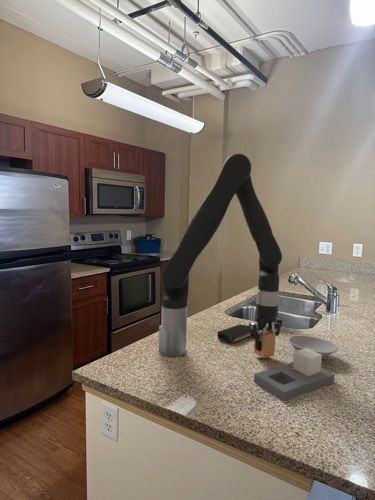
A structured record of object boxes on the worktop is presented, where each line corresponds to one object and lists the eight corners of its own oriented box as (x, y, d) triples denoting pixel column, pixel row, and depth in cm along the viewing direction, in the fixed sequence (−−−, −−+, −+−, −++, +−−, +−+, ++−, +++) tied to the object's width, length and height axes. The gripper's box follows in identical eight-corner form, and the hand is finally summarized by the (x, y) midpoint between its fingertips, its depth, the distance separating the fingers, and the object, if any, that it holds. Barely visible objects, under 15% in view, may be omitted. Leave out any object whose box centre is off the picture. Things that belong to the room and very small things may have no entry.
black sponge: (231, 345, 132) (232, 336, 132) (215, 339, 138) (215, 330, 138) (255, 335, 144) (256, 327, 143) (239, 330, 150) (240, 322, 149)
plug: (263, 358, 118) (265, 335, 117) (253, 352, 122) (255, 331, 121) (274, 355, 120) (275, 333, 119) (264, 350, 124) (265, 329, 124)
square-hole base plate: (283, 400, 94) (285, 373, 93) (253, 381, 104) (255, 356, 103) (334, 381, 105) (336, 357, 104) (302, 366, 115) (304, 343, 115)
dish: (279, 354, 124) (279, 341, 124) (296, 344, 135) (297, 331, 134) (327, 371, 112) (328, 356, 112) (343, 358, 123) (344, 344, 122)
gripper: (259, 307, 112) (256, 357, 114) (290, 302, 119) (286, 349, 121) (244, 301, 118) (241, 348, 120) (274, 297, 126) (271, 341, 128)
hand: (264, 348), depth 121 cm, fingers closed on plug, 5 cm apart
